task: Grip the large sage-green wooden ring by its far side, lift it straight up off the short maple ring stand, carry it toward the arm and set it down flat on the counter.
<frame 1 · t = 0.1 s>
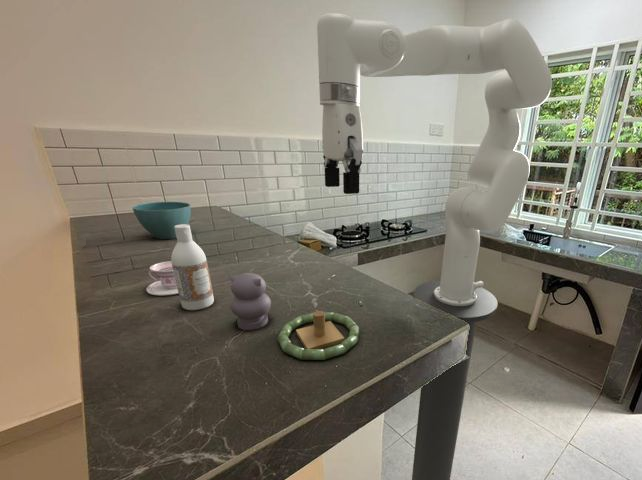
hand: (341, 189, 68), 30 cm above the counter, tool pointing down, fingers open, 9 cm apart
cat figurine: (253, 323, 74), on the counter
teacup: (174, 287, 88), on the counter
ring: (319, 333, 70), point 1 cm above the counter
teal bowl: (169, 236, 129), on the counter
bath foam: (198, 305, 80), on the counter
stand: (320, 337, 70), on the counter
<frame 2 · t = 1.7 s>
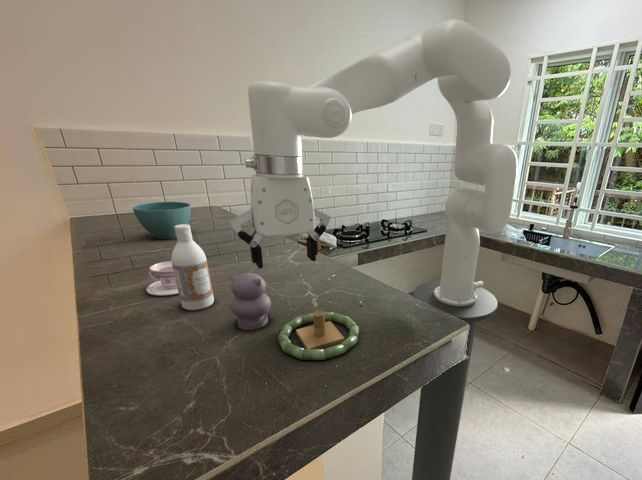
hand: (286, 262, 61), 18 cm above the counter, tool pointing down, fingers open, 9 cm apart
nothing on the counter moved.
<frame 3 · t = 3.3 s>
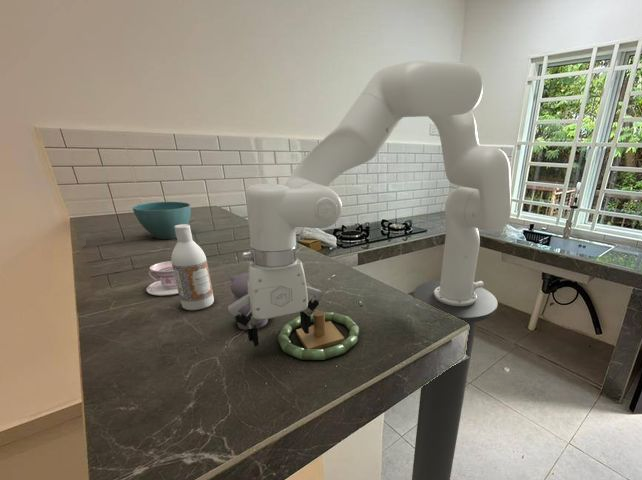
hand: (281, 336, 65), 3 cm above the counter, tool pointing down, fingers open, 9 cm apart
nothing on the counter moved.
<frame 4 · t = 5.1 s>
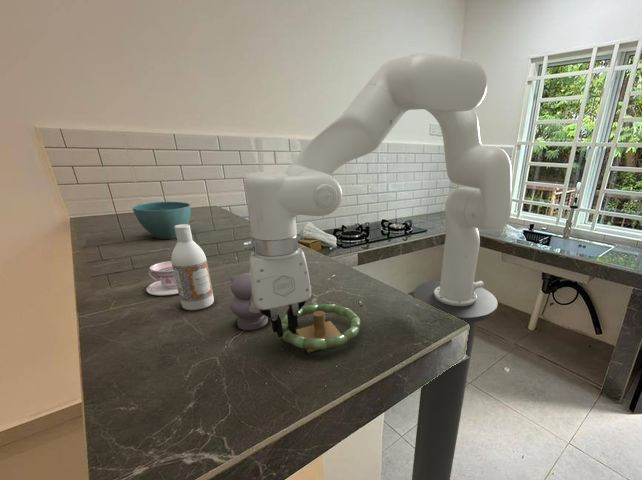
hand: (285, 331, 65), 4 cm above the counter, tool pointing down, fingers closed on ring, 2 cm apart
ring: (320, 324, 69), point 3 cm above the counter, touching gripper
everything else where it was.
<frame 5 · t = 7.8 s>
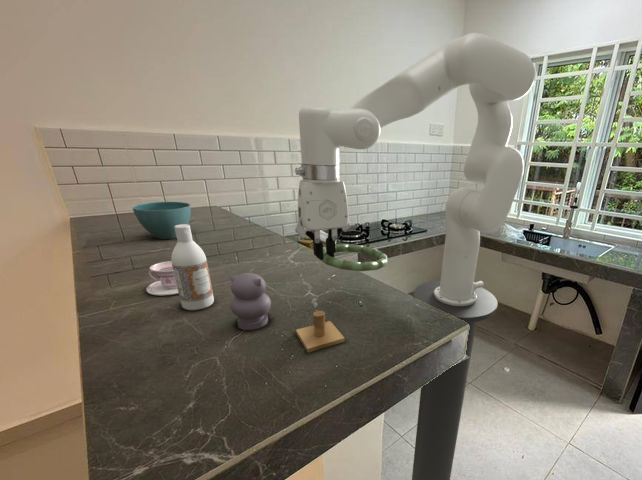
hand: (324, 256, 74), 15 cm above the counter, tool pointing down, fingers closed on ring, 2 cm apart
ring: (353, 256, 78), point 14 cm above the counter, tilted 6°, touching gripper
everything else where it was.
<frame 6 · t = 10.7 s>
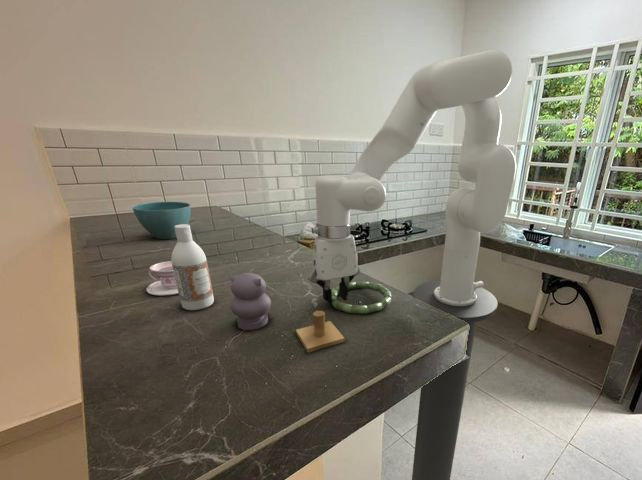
hand: (335, 299, 83), 2 cm above the counter, tool pointing down, fingers open, 3 cm apart
ring: (360, 296, 87), point 1 cm above the counter
everything else where it was.
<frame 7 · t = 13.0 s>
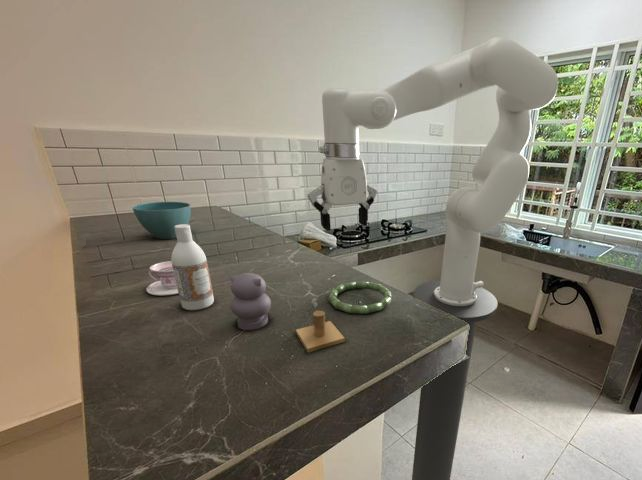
hand: (345, 226, 79), 20 cm above the counter, tool pointing down, fingers open, 9 cm apart
nothing on the counter moved.
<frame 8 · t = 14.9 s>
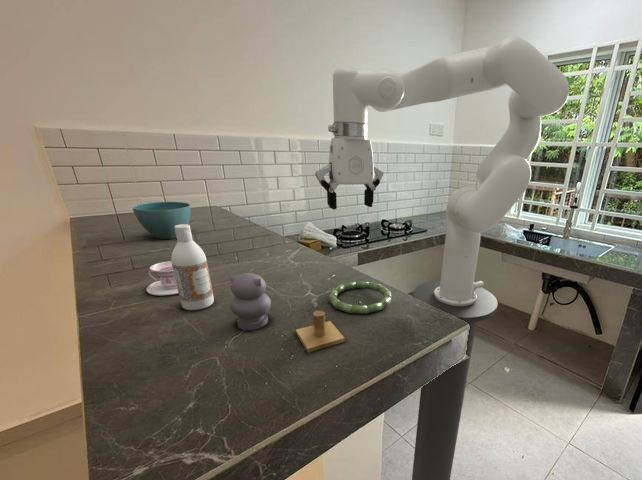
hand: (351, 207, 80), 24 cm above the counter, tool pointing down, fingers open, 9 cm apart
nothing on the counter moved.
at the end: ring inside the target area (0.2 cm from its centre), point 1.0 cm above the counter; ring touching counter; ring tilted 0° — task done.
